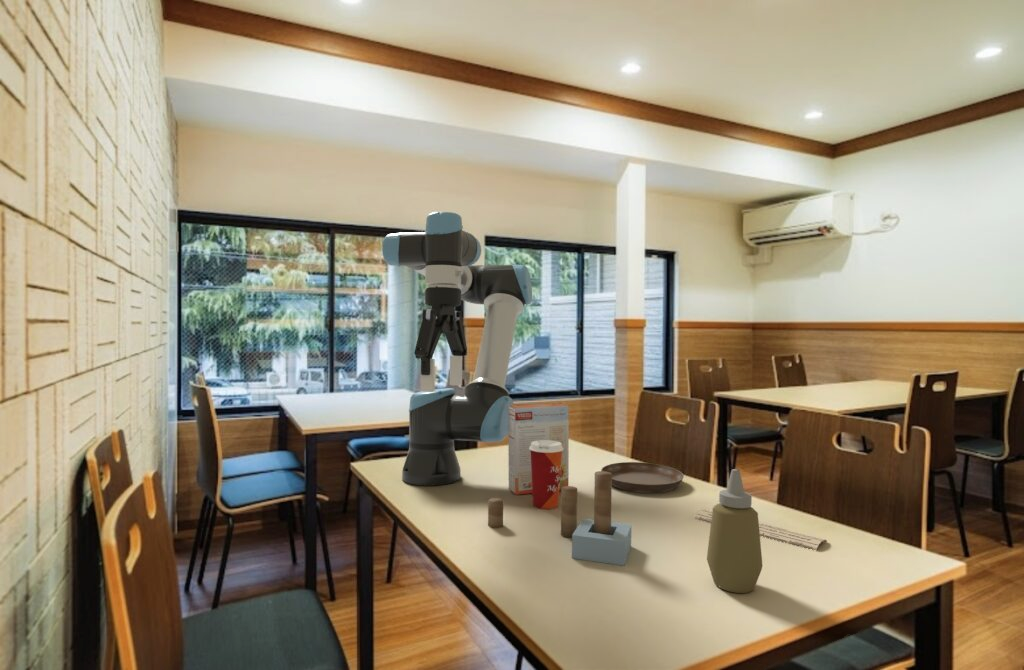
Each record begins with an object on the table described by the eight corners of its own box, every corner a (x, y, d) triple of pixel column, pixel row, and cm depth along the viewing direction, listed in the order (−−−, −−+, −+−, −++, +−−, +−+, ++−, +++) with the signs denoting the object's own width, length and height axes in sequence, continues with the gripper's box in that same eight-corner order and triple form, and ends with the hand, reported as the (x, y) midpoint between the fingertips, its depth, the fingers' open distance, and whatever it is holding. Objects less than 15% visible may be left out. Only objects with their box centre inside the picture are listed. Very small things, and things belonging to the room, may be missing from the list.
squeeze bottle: (697, 574, 91) (699, 464, 91) (745, 573, 92) (747, 463, 92) (720, 598, 83) (722, 477, 83) (772, 597, 84) (775, 476, 84)
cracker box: (559, 484, 144) (560, 402, 143) (569, 490, 138) (570, 405, 138) (507, 488, 139) (507, 403, 139) (514, 495, 133) (515, 407, 133)
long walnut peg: (595, 547, 102) (596, 470, 102) (611, 550, 101) (613, 472, 101) (592, 553, 99) (593, 474, 99) (609, 556, 98) (610, 476, 98)
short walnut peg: (491, 522, 115) (491, 497, 115) (505, 523, 114) (505, 499, 114) (485, 526, 112) (486, 501, 112) (499, 528, 111) (500, 503, 111)
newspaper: (694, 522, 119) (694, 513, 119) (709, 514, 124) (709, 506, 124) (816, 555, 102) (816, 545, 102) (828, 544, 107) (828, 535, 107)
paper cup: (560, 511, 122) (561, 447, 122) (525, 509, 123) (526, 445, 123) (564, 501, 130) (565, 440, 129) (531, 498, 131) (532, 438, 131)
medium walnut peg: (562, 531, 110) (563, 485, 110) (578, 533, 109) (578, 486, 109) (559, 536, 108) (559, 489, 107) (574, 538, 107) (575, 491, 106)
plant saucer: (689, 498, 133) (690, 484, 133) (601, 494, 136) (601, 480, 136) (677, 476, 154) (677, 463, 154) (600, 472, 157) (600, 460, 157)
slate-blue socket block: (582, 539, 106) (582, 518, 106) (631, 546, 103) (631, 524, 103) (571, 558, 98) (572, 534, 97) (624, 565, 95) (624, 541, 95)
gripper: (432, 282, 106) (431, 395, 106) (482, 290, 129) (481, 383, 130) (397, 282, 108) (396, 393, 108) (452, 291, 132) (451, 382, 132)
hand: (442, 388), depth 119 cm, fingers open, 13 cm apart
